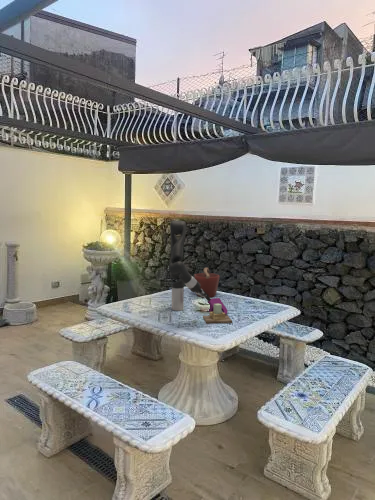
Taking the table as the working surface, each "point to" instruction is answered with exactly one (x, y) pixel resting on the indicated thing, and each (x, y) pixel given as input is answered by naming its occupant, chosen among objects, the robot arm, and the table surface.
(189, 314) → the table surface
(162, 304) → the table surface
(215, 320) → the cup bracket
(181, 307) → the robot arm
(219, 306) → the rail post
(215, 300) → the mounting bracket
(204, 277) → the bucket
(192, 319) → the table surface
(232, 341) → the table surface
